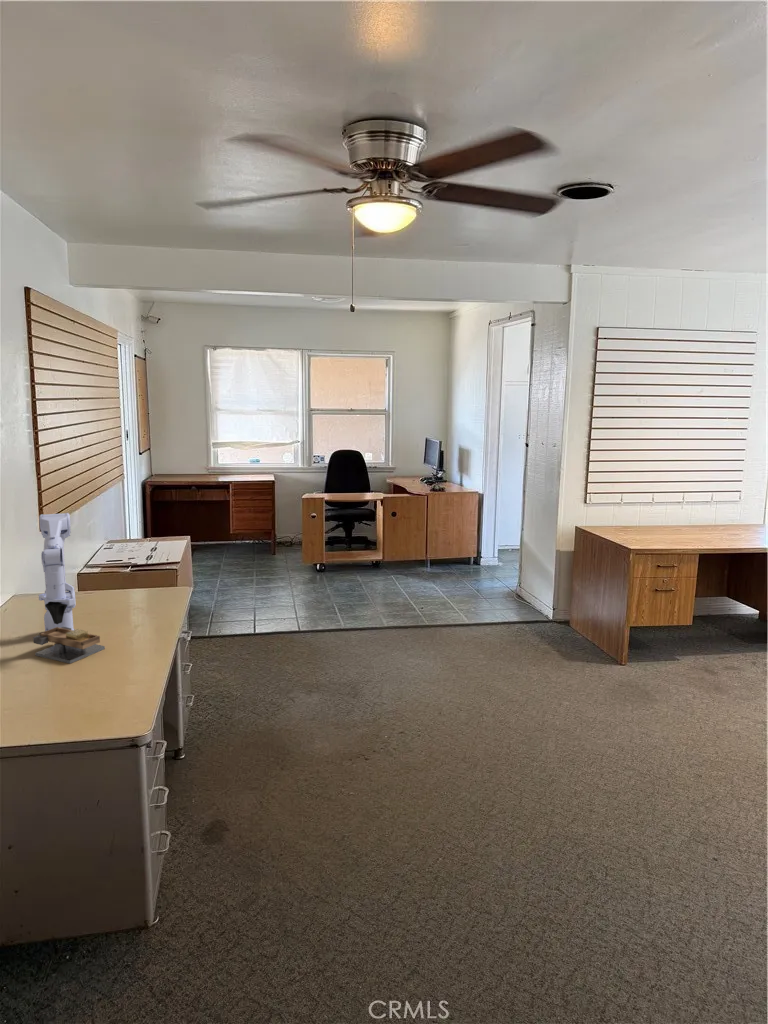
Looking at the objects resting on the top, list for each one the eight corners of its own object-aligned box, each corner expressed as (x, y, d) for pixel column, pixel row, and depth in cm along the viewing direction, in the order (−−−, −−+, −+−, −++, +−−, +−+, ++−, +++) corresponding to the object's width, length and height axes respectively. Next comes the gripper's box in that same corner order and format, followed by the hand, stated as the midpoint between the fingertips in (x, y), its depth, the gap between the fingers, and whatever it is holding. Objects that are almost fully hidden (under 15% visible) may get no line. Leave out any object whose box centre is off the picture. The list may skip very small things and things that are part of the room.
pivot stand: (35, 655, 216) (34, 642, 215) (71, 641, 228) (70, 629, 228) (70, 663, 209) (69, 650, 208) (104, 648, 222) (103, 636, 221)
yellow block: (66, 640, 215) (65, 632, 215) (77, 636, 219) (77, 628, 219) (76, 642, 213) (76, 635, 213) (88, 638, 217) (87, 631, 217)
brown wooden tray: (33, 643, 217) (32, 635, 216) (63, 632, 227) (62, 624, 227) (76, 652, 209) (76, 645, 208) (105, 641, 219) (105, 633, 219)
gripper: (29, 584, 216) (32, 623, 218) (60, 589, 210) (63, 629, 213) (47, 579, 223) (50, 617, 225) (78, 584, 217) (81, 623, 219)
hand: (58, 623), depth 219 cm, fingers closed
